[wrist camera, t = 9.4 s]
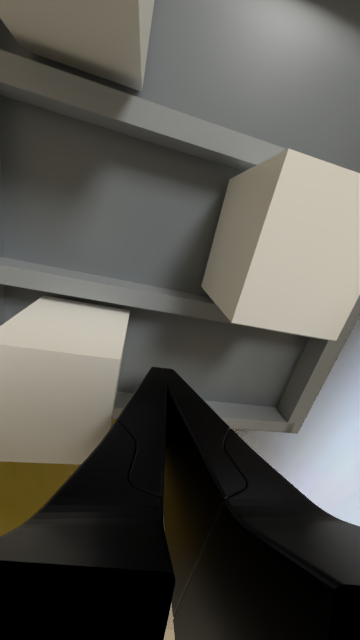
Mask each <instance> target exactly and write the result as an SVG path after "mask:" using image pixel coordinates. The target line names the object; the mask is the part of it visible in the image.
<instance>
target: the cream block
mask: <svg viewBox="0 0 360 640" xmlns="http://www.w3.org/2000/svg"><path fill="white" fill-rule="evenodd" d="M129 314H130V310H126V309H120V308H114V307H108V306H102V305H96V304H90V303H85V302H79V301H73V300H67V299H61V298H55V297H49V296H42V297H41V298H39V299H38V300H36V301H35V302H34V303H32V304H31V305H29V306H28V307H27V308H25V309H24V310H22V311H21V312H19V313H18V314H17V315H15V316H14V317H12V318H11V319H10V320H8V321H7V322H5V323H4V324H3V325H1V326H0V462H26V463H51V464H77V465H81V464H82V463H83V462H84V460H85V459H86V458H87V457H88V456H89V455H90V454H91V452H92V451H93V450H94V449H95V448H96V447H97V445H98V444H99V443H100V442H101V440H102V439H103V438H104V436H105V435H106V434H107V432H108V431H109V429H110V426H111V421H112V415H113V410H114V404H115V398H116V393H117V387H118V381H119V375H120V369H121V363H122V357H123V351H124V345H125V338H126V332H127V326H128V320H129Z"/></svg>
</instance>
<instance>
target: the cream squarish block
mask: <svg viewBox="0 0 360 640" xmlns="http://www.w3.org/2000/svg"><path fill="white" fill-rule="evenodd" d="M153 8H154V0H0V19H1V20H2V21H3V23H4V24H5V26H6V27H7V28H8V30H9V31H10V32H11V34H12V35H13V37H14V38H15V39H16V41H17V42H18V44H19V45H20V46H21V48H22V49H23V50H25V51H28V52H31V53H34V54H37V55H39V56H42V57H45V58H48V59H51V60H53V61H56V62H59V63H62V64H65V65H68V66H70V67H73V68H76V69H79V70H82V71H85V72H87V73H90V74H93V75H96V76H99V77H102V78H104V79H107V80H110V81H113V82H116V83H119V84H121V85H124V86H127V87H130V88H133V89H136V90H138V91H141V92H142V88H143V81H144V74H145V66H146V59H147V52H148V44H149V37H150V30H151V22H152V15H153Z"/></svg>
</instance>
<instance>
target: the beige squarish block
mask: <svg viewBox="0 0 360 640" xmlns="http://www.w3.org/2000/svg"><path fill="white" fill-rule="evenodd" d="M201 287H202V288H203V289H204V291H205V292H206V293H207V294H208V295H209V297H210V298H211V299H212V300H213V301H214V303H215V304H216V305H217V306H218V307H219V308H220V310H221V311H222V312H223V313H224V314H225V316H226V317H227V318H228V319H229V320H230V322H231V323H236V324H242V325H247V326H253V327H259V328H265V329H271V330H276V331H282V332H288V333H294V334H299V335H305V336H311V337H317V338H323V339H328V340H334V341H336V340H337V338H338V336H339V334H340V332H341V330H342V329H343V327H344V325H345V323H346V321H347V319H348V317H349V315H350V313H351V311H352V309H353V307H354V305H355V303H356V301H357V299H358V297H359V295H360V173H358V172H355V171H352V170H349V169H346V168H343V167H340V166H337V165H335V164H332V163H329V162H326V161H323V160H320V159H317V158H315V157H312V156H309V155H306V154H303V153H300V152H297V151H294V150H292V149H287V150H285V151H283V152H281V153H279V154H277V155H275V156H273V157H271V158H269V159H267V160H265V161H264V162H262V163H260V164H258V165H256V166H254V167H252V168H250V169H248V170H246V171H244V172H242V173H241V174H239V175H237V176H235V177H233V178H231V179H229V183H228V187H227V191H226V194H225V198H224V202H223V206H222V209H221V213H220V217H219V221H218V225H217V228H216V232H215V236H214V240H213V243H212V247H211V251H210V255H209V259H208V262H207V266H206V270H205V274H204V277H203V281H202V285H201Z"/></svg>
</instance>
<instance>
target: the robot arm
mask: <svg viewBox="0 0 360 640" xmlns="http://www.w3.org/2000/svg"><path fill="white" fill-rule="evenodd" d="M163 516H164V524H163ZM164 527H165V531H164ZM171 601H172V611H173V617H174V619H173V623H174V632H175V640H360V526H356V525H353V524H350V523H348V522H345V521H342V520H340V519H338V518H336V517H334V516H332V515H330V514H329V513H327V512H325V511H324V510H322V509H321V508H319V507H318V506H316V505H315V504H314V503H313V502H312V501H310V500H309V499H308V498H307V497H306V496H305V495H303V494H302V493H301V492H300V491H299V490H298V489H296V488H295V487H294V486H293V485H292V484H291V483H290V482H288V481H287V480H286V479H285V478H284V477H283V476H282V475H280V474H279V473H278V472H277V471H276V470H275V469H274V468H272V467H271V466H270V465H269V464H268V463H267V462H266V461H265V460H263V459H262V458H261V457H260V456H259V455H258V454H257V453H256V452H255V451H254V450H252V449H251V448H250V447H249V446H248V445H247V444H246V443H245V442H244V441H243V440H242V439H241V438H240V437H239V436H238V435H237V434H236V433H235V432H234V431H233V430H232V429H230V427H229V426H228V425H227V424H226V423H225V422H224V421H223V420H222V419H221V418H220V416H219V415H218V414H217V413H216V412H215V411H214V410H213V409H212V408H211V407H210V406H209V405H208V404H207V403H206V402H205V401H204V400H203V399H202V398H201V397H200V396H199V395H198V394H197V393H196V392H195V391H194V390H193V389H192V388H191V387H190V386H189V385H188V384H187V383H186V382H185V381H184V380H183V379H182V378H181V377H180V375H179V374H178V373H177V372H176V371H175V370H173V369H169V368H161V367H151V368H150V370H149V371H148V373H147V374H146V376H145V377H144V379H143V380H142V382H141V383H140V385H139V386H138V388H137V389H136V391H135V392H134V394H133V395H132V397H131V398H130V400H129V401H128V403H127V404H126V406H125V407H124V409H123V410H122V412H121V413H120V415H119V416H118V418H117V419H116V421H115V422H114V423H113V425H112V426H111V428H110V429H109V431H108V432H107V434H106V435H105V436H104V438H103V439H102V440H101V442H100V443H99V444H98V445H97V447H96V448H95V449H94V450H93V451H92V452H91V454H90V455H89V456H88V457H87V458H86V459H85V460H84V462H83V463H82V464H81V465H80V466H79V467H78V468H77V469H76V470H75V472H74V473H73V474H72V475H71V476H70V477H69V478H68V479H67V480H66V482H65V483H64V484H63V485H62V486H61V487H60V488H59V489H58V490H57V491H56V493H55V494H54V495H53V496H52V497H51V498H50V499H49V500H48V501H47V502H46V503H45V505H44V506H43V507H42V508H41V509H39V510H38V511H37V512H36V513H35V514H34V515H33V516H32V517H31V518H29V519H28V520H27V521H26V522H24V523H23V524H21V525H20V526H19V527H17V528H15V529H14V530H12V531H10V532H8V533H6V534H5V535H3V536H1V537H0V640H163V639H164V634H165V630H166V625H167V620H168V616H169V611H170V606H171Z"/></svg>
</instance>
